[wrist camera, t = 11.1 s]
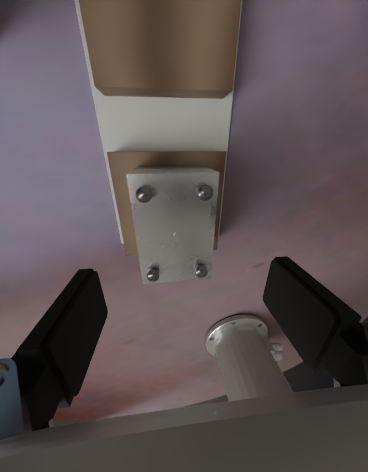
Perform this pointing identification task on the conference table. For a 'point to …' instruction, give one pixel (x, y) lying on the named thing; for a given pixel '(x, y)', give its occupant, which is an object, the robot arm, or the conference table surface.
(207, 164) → the stand
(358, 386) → the robot arm
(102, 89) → the stand
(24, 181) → the conference table surface
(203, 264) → the housing
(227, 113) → the mat
